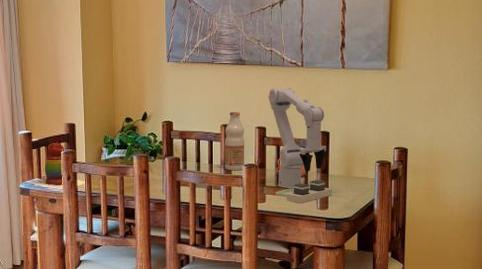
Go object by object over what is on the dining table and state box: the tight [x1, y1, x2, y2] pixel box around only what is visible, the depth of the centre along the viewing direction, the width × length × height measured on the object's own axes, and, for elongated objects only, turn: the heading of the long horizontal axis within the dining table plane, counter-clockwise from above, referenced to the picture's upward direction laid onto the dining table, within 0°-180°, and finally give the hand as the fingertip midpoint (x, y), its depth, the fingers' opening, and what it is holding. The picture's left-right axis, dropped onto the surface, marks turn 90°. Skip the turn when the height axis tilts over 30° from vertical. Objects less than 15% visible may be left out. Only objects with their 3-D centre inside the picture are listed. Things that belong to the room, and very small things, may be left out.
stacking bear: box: [44, 141, 66, 186], centre depth 306 cm, size 11×10×18 cm
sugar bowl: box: [275, 158, 307, 177], centre depth 325 cm, size 12×14×10 cm
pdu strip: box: [286, 187, 333, 204], centre depth 279 cm, size 7×20×3 cm, turn 136°
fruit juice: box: [224, 111, 245, 171], centre depth 340 cm, size 9×9×28 cm
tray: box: [274, 188, 294, 198], centre depth 285 cm, size 9×9×2 cm
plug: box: [293, 182, 310, 196], centre depth 275 cm, size 4×4×6 cm
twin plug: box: [309, 179, 326, 192], centre depth 282 cm, size 4×4×6 cm
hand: (313, 169), depth 286 cm, fingers open, 7 cm apart
